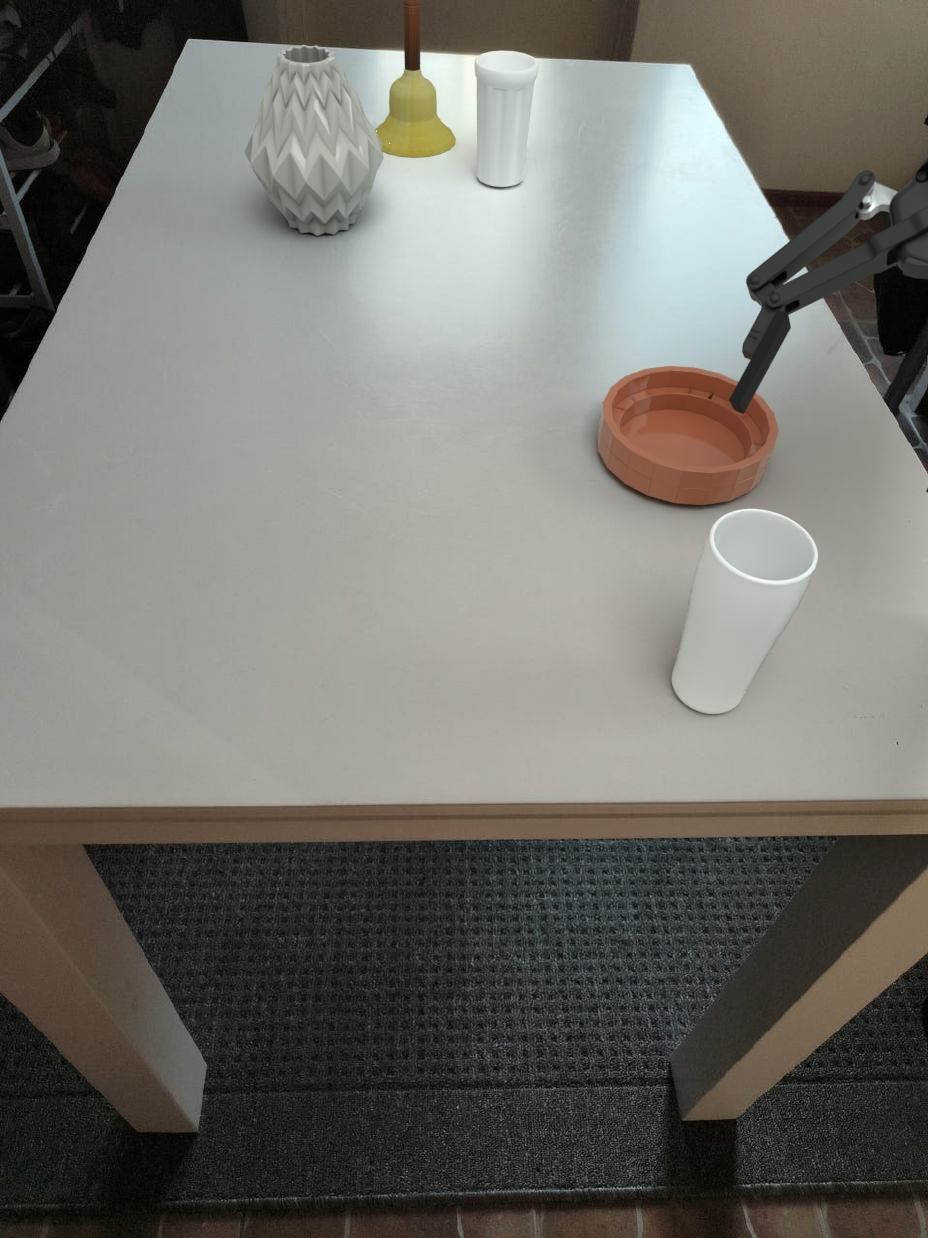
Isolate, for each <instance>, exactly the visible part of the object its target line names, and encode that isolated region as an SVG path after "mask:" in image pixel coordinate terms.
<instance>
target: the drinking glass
mask: <svg viewBox="0 0 928 1238" xmlns="http://www.w3.org/2000/svg"><path fill="white" fill-rule="evenodd" d="M818 561H819V550H818V547H817V544H816V542H815V540H814V539H813V537H812V536H811V534H810V533H809V532H808V531H807V530H806V529H805V527H803V526H802V525H801V524H799V523H797V522H796V521H795V520H793V519H792V518H790V517H788V516H786V515H783V514H781V513H777V512H775V511H770V510H768V509H761V508H741V509H736V510H733V511H730V512H727V513H725V514H723V515H722V516H720V517H719V518H718V519H716V521H715V522H714V523H713V524H712V526H711V528H710V531H709V533H708V536H707V537H706V540H705V542H704V545H703V548H702V551H701V553H700V556H699V559H698V562H697V564H696V565H697V566H696V568H695V571H694V574H693V575H694V576H693V579H692V585H691V588H690V594H689V598H688V604H687V609H686V614H685V618H684V624H683V627H682V632H681V638H680V643H679V647H678V652H677V655H676V660H675V662H674V666H673V669H672V672H671V684H672V688H673V691H674V694H675V695H676V696H677V698H678V699H679V700H680V701H681V702H682V703H683V704H684V705H685V706H687V707H689V708H690V709H692V710H694V711H697V712H699V713H702V714H708V715H719V714H724V713H727V712H729V711H732V710H733V709H735V708H736V707H737V706H738V705H739V704H740V703H741V702H742V700H743V698H744V696H746V695H745V694H746V692H747V690H748V688H749V686H750V685H751V683H752V681H753V680H754V678H755V677H756V675H757V673H758V671H760V668H761V667H762V665H763V664H764V662H765V661H766V659H767V658H768V656H769V654H771V653H770V652H771V651H772V650H773V648H774V646H775V645H776V643H777V642H778V640H779V639H780V637H781V636H782V634H783V633H784V631H785V629H786V628H787V626H788V624H789V623H790V622H791V619H793V617H794V615H795V613H796V611H797V610H798V608H799V606H800V604H801V602H802V600H803V598H804V597H805V594H806V592H807V589H808V587H809V585H810V583H811V580H812V578H813V575H814V572H815V571H816V568H817V565H818Z"/></svg>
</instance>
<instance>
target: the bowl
mask: <svg viewBox="0 0 928 1238" xmlns="http://www.w3.org/2000/svg"><path fill="white" fill-rule="evenodd" d="M738 382H739V380H735V379H734V378H731V377H730V376H726V375H724V374H722V373H719V372H715V371H712V370H707V369H703V368H699V367H693V366H681V365H680V366H678V365H664V366H656V367H648V368H643V369H640V370H638V371H635V372H633V373H630V374H628V375H624V376H623V377H622V378H620V379H619V380H618V381H617V382H615V383H614V384H612V386H610V388H609V390H608V392H607V393H606V396H605V397H604V400H603V401H602V406H601V411H600V417H599V418H600V419H599V423H598V430H597V452H598V453H599V455H600V457H601V459H602V461H603V463H604V464H605V467H606V468H607V469H608V470H609V471H610V472H611V473H612V474H614V475H615V476H616V477H617V478H618V479H619V480H620V481H621V482H622V483H623V484H624V485H626V486H628V487H631V488H632V489H634V490H636V491H638V492H640V493H642V494H644V495H646V496H648V497H651V498H655V499H658V500H662V501H665V502H669V503H673V504H680V505H681V504H682V505H695V506H706V505H707V506H708V505H713V504H720V503H725V502H726V503H727V502H730V501H733V500H735V499H737V498H739V497H742V496H743V495H746V494H748V493H750V492H751V491H752V490H753V489H754V488H755V487H756V486H757V485H758V484H759V483H760V481H762V479H764V475H765V473H766V471H767V467H768V464H769V462H770V459H771V458H772V457H771V456H772V454H773V451H774V448H775V446H776V442H777V439H778V435H779V426H778V422H777V418H776V415H775V412H774V411H773V409H772V408H771V407H770V406H769V404H768V403H767V402H766V400H765V399H764V398H763V397H762V396H761V395H760V394H758V393H757V392H756V393H755V394H754V396H753V398H752V400H751V402H750V404H749V405H748V407H747V409H746V411H745V413H744V414H742V413H740V412H737V411H735V410H734V409H733V407H732V405H731V403H730V401H729V399H730V397H731V395H732V393H733V391H734V390H735V388H736V386H737V384H738Z"/></svg>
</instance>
